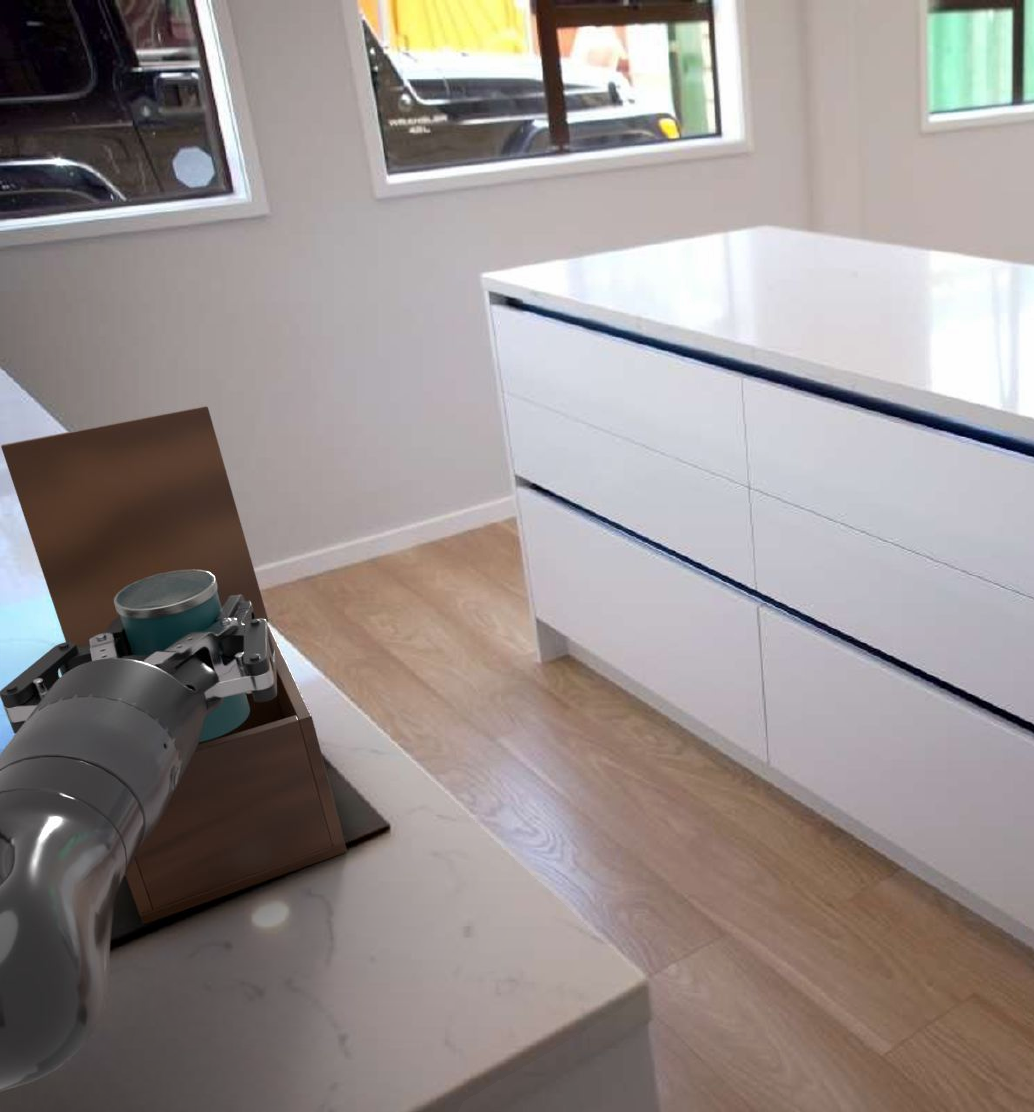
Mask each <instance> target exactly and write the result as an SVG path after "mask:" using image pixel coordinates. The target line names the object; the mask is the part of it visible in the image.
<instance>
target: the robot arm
mask: <svg viewBox="0 0 1034 1112" xmlns="http://www.w3.org/2000/svg"><path fill="white" fill-rule="evenodd" d="M215 622H216V623H214V624H213V625H211V626H210V627H209V628H207V629H206V630H205V631H203V632H198V631H191V632H189V633H188V634H186V635H185V636H183V637H182V638H181V639H179V640H178V641H177V642H175V643H174V644H172V645H171V646H170V647H168V648H167V649H165V650H164V651H156V652H154V653H153V654H151V655H132V651H131V648H130V645H129V642H128V639H127V636H126V633H125V629H124V626H123V623H122V620H121V617H118V618H116V619H115V620H113V621H112V623H111V624H110V626H109V627H108V629H106V631H105V632H104V633H101V634H98V635H95V636H93V637H92V638H91V639H90V640H89V641H90V645H87V646H83V647H79V648H77V646H76V643H75V642H66V641H64V642H61V643H58V644H56V645H55V646H53V647H52V648H51V649H49V650H48V651H47V652H46V653H44V655H42V656H41V657H40V658H38V659H37V660H36V661H34V663H32V664H31V665H30V666H28V667H27V668H26V669H25V670H23V672H21V673H19V675H18V676H17V677H15V678H14V679H12V681H10V682H9V683H8V684H7V685H5V686H4V687H3V688H1V689H0V700H1V703H2V707H3V709H4V712H5V714H6V717H7V720H8V722H9V724H10V726H11V730H12V732H13V734H14V736H13V737H12V738H11V740H10V741H9V742H8V744H6V746H5V747H4V748H3V750H2V751H1V753H0V1092H3V1091H6V1090H10V1089H13V1088H18V1087H20V1086H24V1085H27V1084H30V1083H33V1082H36V1081H38V1080H40V1079H42V1078H44V1077H47V1076H49V1075H50V1074H52V1073H54V1072H55V1071H57V1070H59V1069H60V1068H61V1067H62V1066H64V1065H65V1064H66V1063H67V1062H69V1061H70V1060H71V1059H72V1058H73V1057H74V1056H75V1055H76V1054H78V1052H79V1051H80V1050H81V1049H82V1048H83V1047H84V1046H85V1045H86V1044H87V1042H89V1040H90V1039H91V1037H92V1036H93V1035H94V1034H95V1032H96V1031H97V1029H98V1027H99V1025H100V1024H101V1021H102V1020H103V1018H104V1015H105V1013H106V1009H107V1005H108V999H109V992H110V991H109V990H110V962H111V961H110V959H111V958H110V955H111V941H112V932H113V924H114V923H113V921H114V913H115V903H116V896H117V891H118V890H119V888H120V886H121V884H122V883H123V880H124V878H125V877H126V875H125V874H126V872H127V870H128V868H129V866H130V864H131V863H132V861H133V859H134V857H135V855H136V853H137V851H138V849H139V848H140V846H141V845H142V843H143V842H144V841H145V840H146V839H147V837H148V836H149V835H150V834H151V832H152V831H153V830H154V828H155V827H156V825H157V824H158V822H159V820H160V819H161V817H162V815H163V813H164V811H165V809H166V807H167V805H168V803H169V801H170V799H171V797H172V795H173V793H174V791H175V789H176V787H177V785H178V783H179V781H180V780H181V778H182V776H183V774H184V772H185V770H186V768H187V766H188V764H189V762H190V760H191V758H192V756H193V754H194V752H195V750H196V748H197V745H198V743H199V740H200V736H201V732H202V728H203V723H204V719H205V717H206V716H207V715H208V714H209V713H211V712H212V711H214V710H215V709H217V708H218V707H219V706H220V705H221V703H222V701H223V698H224V697H227V696H232V695H236V694H241V693H246V694H251V693H252V695H253V699H254V701H255V702H267V701H270V700H272V699H274V698H275V697H276V696H277V670H276V655H275V651H274V647H273V643H272V639H271V636H270V632H269V628H268V626H269V625H268V622H267V621H266V619H261V618H260V619H256V618H255V614H254V611H253V607H252V604H251V602H250V601H246V602H245V600H244V597H243V595H235V596H229V597H228V599H227V601H226V602H225V604H224V606H223V607H222V609H221V612H220V613H219V614H218V616H217V618H216V619H215ZM219 643H220V646H221V650H222V654H221V655H220V652H219V648H218V646H219ZM59 673H60V675H61V676H60V675H59Z"/></svg>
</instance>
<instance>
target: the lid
mask: <svg viewBox="0 0 1034 1112" xmlns="http://www.w3.org/2000/svg"><path fill="white" fill-rule="evenodd" d="M0 448H1V450H2V454H3V457H4V461H5V463H6V466H7V469H8V472H9V475H10V478H11V481H12V484H13V487H14V490H15V494H16V496H17V499H18V502H19V505H20V508H21V511H22V514H23V518H24V520H25V523H26V525H27V529H28V533H29V535H30V539H31V541H32V545H33V547H34V551H35V553H36V556H37V560H38V563H39V566H40V568H41V572H42V574H43V577H44V580H45V584H46V587H47V590H48V593H49V595H50V599H51V602H52V604H53V608H54V611H55V614H56V616H57V620H58V623H59V626H60V630H61V632H62V636H63V638H64V642H75V643H76V646H77V648H79V647H83V646H87V645H90V641H89V640H90V639H91V638H92V637H93V636H95V635H98V634H101V633H104V632H105V631H106V629H108V627H109V626H110V624H111V623H112V621H113V620H115V619H116V618H118V617H120V614H118V612H117V611H116V608H115V605H114V598H115V596H116V595H117V593H119V592H120V591H121V590H122V589H124V588H125V587H127V586H128V585H130V584H132V583H134V582H137V581H139V580H142V579H144V578H147V577H150V576H154V575H157V574H161V573H166V572H171V571H179V570H202V571H206V572H209V573H211V574H213V575H214V577H215V579H216V582H217V593H218V597H219V600H220V604H221V607H223V606H224V604H225V602H226V601H227V599H228V597H229V596H235V595H243V597H244V600H245V602H246V601H250V602H251V604H252V607H253V611H254V614H255V618H256V619H260V618H261V619H266V621H267V623H268V622H269V618H268V613H267V610H266V607H265V603H264V600H263V596H262V593H261V590H260V589H261V588H260V585H259V582H258V579H257V575H256V571H255V568H254V565H253V561H252V558H251V554H250V551H249V547H248V543H247V540H246V536H245V532H244V529H243V526H242V522H241V518H240V515H239V511H238V508H237V504H236V500H235V497H234V494H233V490H232V487H231V484H230V479H229V477H228V476H229V475H228V473H227V469H226V466H225V463H224V458H223V454H222V452H221V448H220V445H219V441H218V438H217V433H216V430H215V427H214V424H213V419H212V417H211V413H210V409H209V406H207V405H202V406H197V407H191V408H187V409H181V410H176V411H171V412H166V413H160V414H156V415H150V416H145V417H140V418H139V417H138V418H135V419H130V420H124V421H118V422H113V423H108V424H103V425H97V426H93V427H87V428H82V429H81V428H80V429H77V430H76V429H75V430H72V431H65V432H60V433H57V434H56V433H55V434H50V435H45V436H40V437H34V438H30V439H25V440H19V441H13V442H8V443H3V444H1V445H0Z"/></svg>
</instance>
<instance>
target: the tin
mask: <svg viewBox="0 0 1034 1112" xmlns="http://www.w3.org/2000/svg"><path fill="white" fill-rule="evenodd" d="M114 605H115V608H116V611H117V612H118V614H120V617H121V620H122V623H123V626H124V629H125V633H126V636H127V639H128V642H129V645H130V648H131V651H132V655H151V654H153V653H154V652H156V651H164V650H165V649H167V648H168V647H170V646H171V645H172V644H174V643H175V642H177V641H178V640H179V639H181V638H182V637H183V636H185V635H186V634H188V633H189V632H191V631H198V632H203V631H205V630H206V629H207V628H209V627H210V626H211V625H213V624H214V623H216V622H215V619H216V618H217V616H218V614H219V613H220V612H221V609H222V607H221V604H220V600H219V597H218V593H217V582H216V579H215V577H214V575H213V574H211V573H209V572H206V571H202V570H179V571H171V572H166V573H161V574H157V575H154V576H150V577H147V578H144V579H142V580H139V581H137V582H134V583H132V584H130V585H128V586H127V587H125V588H124V589H122V590H121V591H120V592H119V593H117V595H116V596H115V598H114ZM218 648H219V652H220V655H221V654H222V650H221V646H220V643H219V646H218ZM249 713H250V707H249V704H248V700H247V696H246V693H241V694H236V695H232V696H227V697H224V698H223V701H222V703H221V705H220V706H219V707H218V708H217V709H215V710H214V711H212V712H211V713H209V714H208V715H207V716H206V717H205V719H204V723H203V728H202V732H201V736H200V740H199V742H203V741H207V740H210V739H214V738H216V737H219V736H222V735H224V734H226V733H228V732H230V731H232V730H234V729H235V728H237V727H238V726H240V725H241V724H242V723H243V722H244V721H245V720H246V719H247V717H248V716H249Z"/></svg>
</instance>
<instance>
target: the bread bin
mask: <svg viewBox="0 0 1034 1112" xmlns="http://www.w3.org/2000/svg"><path fill="white" fill-rule="evenodd" d="M268 628H269V632H270V636H271V639H272V643H273V647H274V651H275V655H276V670H277V696H276V697H275V698H274V699H272V700H270V701H267V702H255V701H254V699H253V695H252V693H251V694H246V696H247V700H248V704H249V707H250V713H249V716H248V717H247V719H246V720H245V721H244V722H243V723H242V724H241V725H240V726H238V727H237V728H235V729H234V730H232V731H230V732H228V733H226V734H224V735H222V736H219V737H216V738H214V739H210V740H207V741H203V742H199V743H198V745H197V748H196V750H195V752H194V754H193V756H192V758H191V760H190V762H189V764H188V766H187V768H186V770H185V772H184V774H183V776H182V778H181V780H180V781H179V783H178V785H177V787H176V789H175V791H174V793H173V795H172V797H171V799H170V801H169V803H168V805H167V807H166V809H165V811H164V813H163V815H162V817H161V819H160V820H159V822H158V824H157V825H156V827H155V828H154V830H153V831H152V832H151V834H150V835H149V836H148V837H147V839H146V840H145V841H144V842H143V843H142V845H141V846H140V848H139V849H138V851H137V853H136V855H135V857H134V859H133V861H132V863H131V864H130V866H129V868H128V870H127V872H126V874H125V878H126V881H127V883H128V886H129V889H130V892H131V894H132V898H133V900H134V904H135V906H136V909H137V912H138V914H139V917H140V920H141V923H142V925H147V924H149V923H153V922H155V921H158V920H161V919H165V918H166V917H170V916H172V915H175V914H178V913H180V912H184V911H186V910H189V909H191V908H194V907H197V906H200V905H203V904H205V903H209V902H212V901H214V900H217V899H219V898H222V897H225V896H228V895H230V894H234V893H236V892H239V891H242V890H244V889H248V888H250V887H253V886H256V885H258V884H261V883H264V882H267V881H270V880H272V879H275V878H278V877H281V876H284V875H287V874H289V873H293V872H295V871H298V870H301V869H303V868H306V867H309V866H311V865H314V864H317V863H320V862H322V861H326V860H328V859H332V858H334V857H337V856H339V855H342V854H346V853H347V852H348V849H347V845H346V841H345V836H344V833H343V830H342V825H341V821H340V817H339V814H338V812H337V811H338V810H337V807H336V806H337V805H336V802H335V799H334V795H333V791H332V788H331V784H330V780H329V777H328V772H327V769H326V765H325V762H324V758H323V754H322V750H321V746H320V742H319V738H318V734H317V731H316V727H315V723H314V720H313V716H312V714H311V712H310V709H309V707H308V705H307V702H306V701H305V698H304V696H303V694H302V692H301V690H300V688H299V686H298V683H297V681H296V680H295V677H294V675H293V673H292V671H291V669H290V667H289V664H288V663H287V660H286V658H285V656H284V654H283V652H282V650H281V647H280V645H279V643H278V640H277V639H276V637H275V634H274V632H273V630H272V628H271V626H269V625H268Z"/></svg>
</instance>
